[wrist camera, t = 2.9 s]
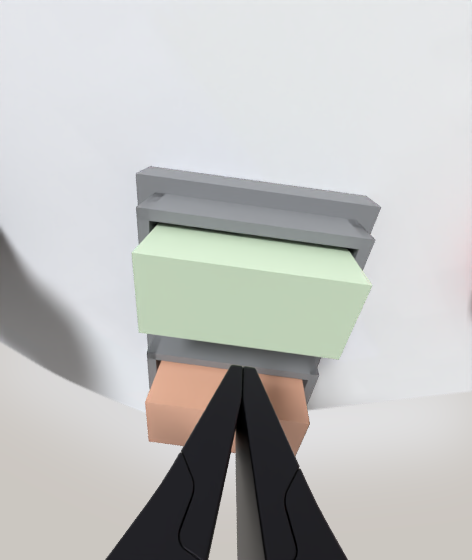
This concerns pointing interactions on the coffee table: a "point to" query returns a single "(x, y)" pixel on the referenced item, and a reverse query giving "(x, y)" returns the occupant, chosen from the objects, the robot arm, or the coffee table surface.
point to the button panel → (255, 221)
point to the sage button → (247, 290)
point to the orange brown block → (198, 392)
